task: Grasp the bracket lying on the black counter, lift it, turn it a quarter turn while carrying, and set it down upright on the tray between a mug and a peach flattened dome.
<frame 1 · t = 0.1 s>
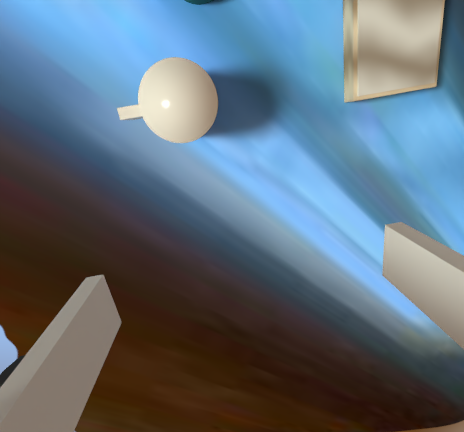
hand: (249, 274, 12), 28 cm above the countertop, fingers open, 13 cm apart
mug: (186, 106, 35), on the countertop
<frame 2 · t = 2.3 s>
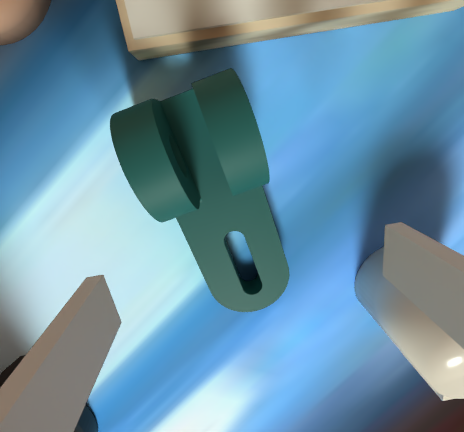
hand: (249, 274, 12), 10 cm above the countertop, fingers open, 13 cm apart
bracket: (223, 208, 22), on the countertop
mug: (394, 278, 26), on the countertop
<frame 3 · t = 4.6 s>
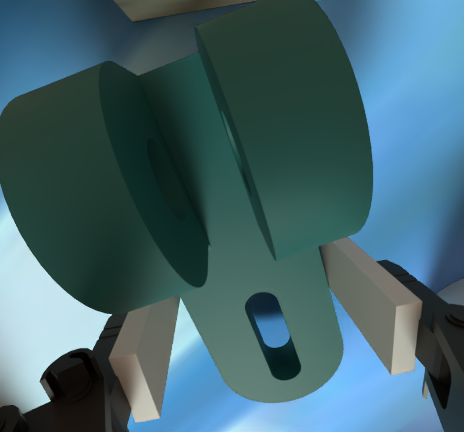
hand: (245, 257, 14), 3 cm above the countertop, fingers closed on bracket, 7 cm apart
bracket: (243, 249, 15), point 2 cm above the countertop, touching gripper
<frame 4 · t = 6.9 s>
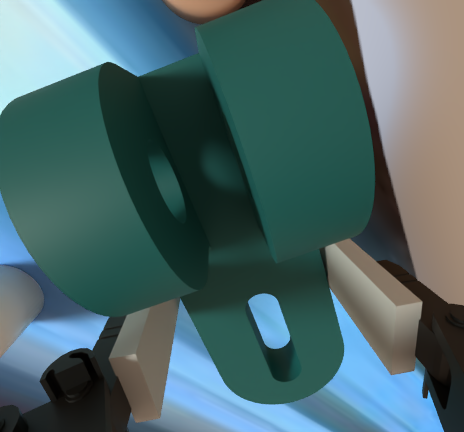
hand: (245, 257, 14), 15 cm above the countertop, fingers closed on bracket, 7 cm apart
bracket: (243, 250, 14), point 14 cm above the countertop, touching gripper
mug: (6, 295, 30), on the countertop
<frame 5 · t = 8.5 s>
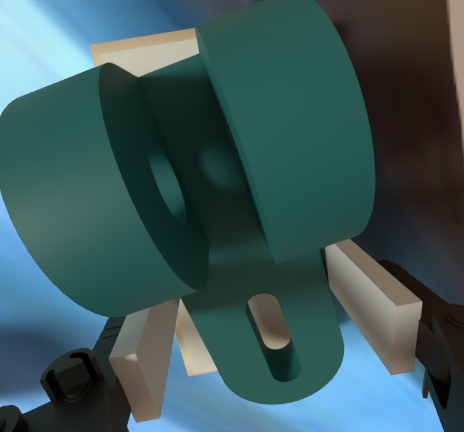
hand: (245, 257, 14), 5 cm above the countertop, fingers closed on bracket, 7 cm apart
tray: (234, 220, 19), on the countertop
bracket: (243, 250, 14), point 5 cm above the countertop, touching gripper
when the fingers open (3 cm above the countertop, at t = 9.4 s): bracket stays where it is, resting on tray.
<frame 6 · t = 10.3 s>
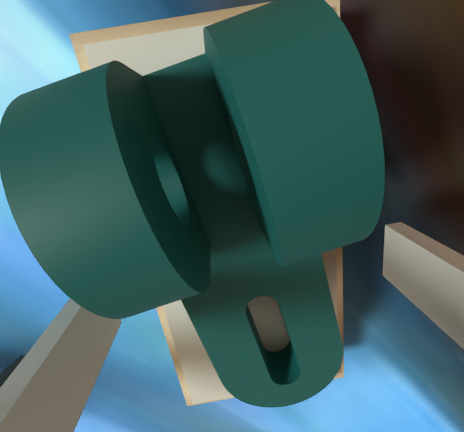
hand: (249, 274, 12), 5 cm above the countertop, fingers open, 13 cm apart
tray: (239, 233, 17), on the countertop
bracket: (244, 252, 14), point 3 cm above the countertop, touching tray
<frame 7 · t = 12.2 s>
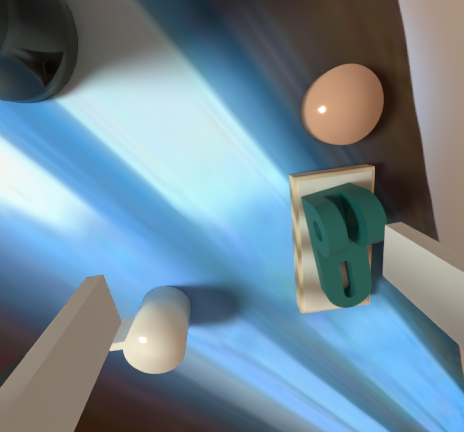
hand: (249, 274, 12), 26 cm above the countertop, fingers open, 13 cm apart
peach flattened dome: (332, 108, 36), on the countertop
tray: (328, 239, 41), on the countertop
bracket: (335, 246, 39), point 3 cm above the countertop, touching tray
mug: (166, 307, 44), on the countertop
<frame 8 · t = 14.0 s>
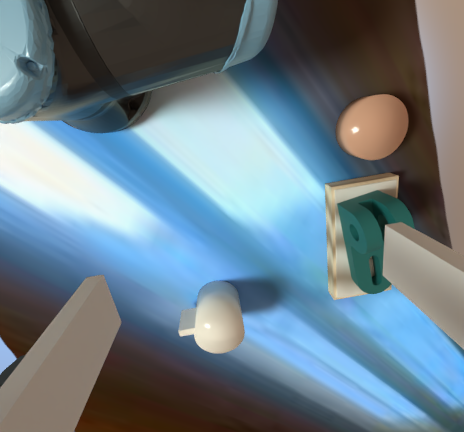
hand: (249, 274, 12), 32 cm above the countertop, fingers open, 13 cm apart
peach flattened dome: (363, 127, 42), on the countertop
tray: (356, 236, 48), on the countertop
bracket: (364, 243, 46), point 3 cm above the countertop, touching tray
mug: (218, 298, 51), on the countertop
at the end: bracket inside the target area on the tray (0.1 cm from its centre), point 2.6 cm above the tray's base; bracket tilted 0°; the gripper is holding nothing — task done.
